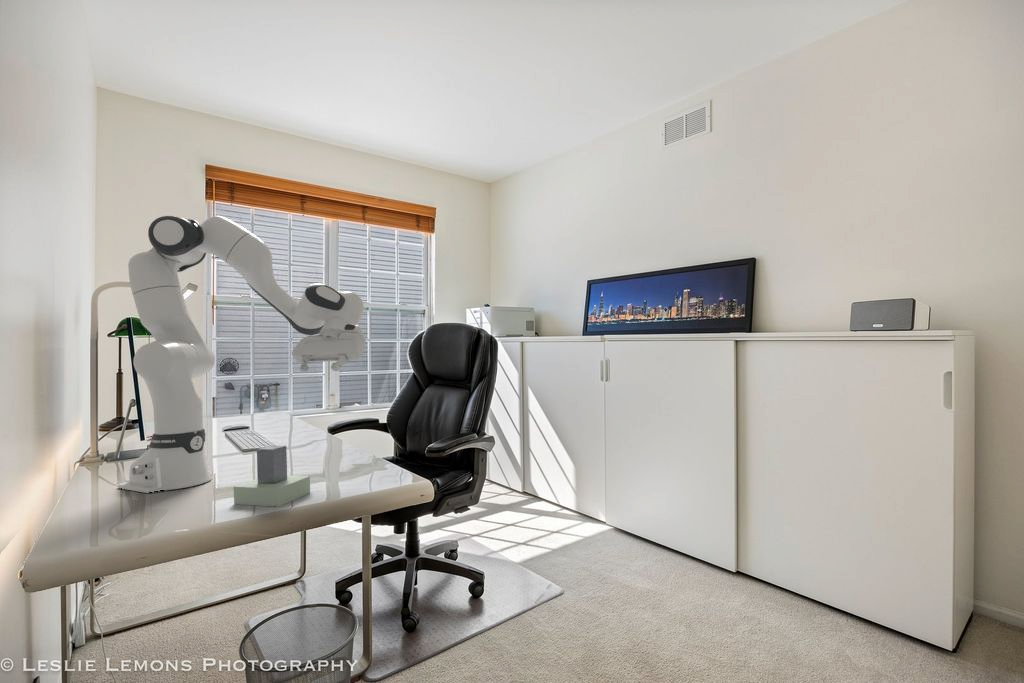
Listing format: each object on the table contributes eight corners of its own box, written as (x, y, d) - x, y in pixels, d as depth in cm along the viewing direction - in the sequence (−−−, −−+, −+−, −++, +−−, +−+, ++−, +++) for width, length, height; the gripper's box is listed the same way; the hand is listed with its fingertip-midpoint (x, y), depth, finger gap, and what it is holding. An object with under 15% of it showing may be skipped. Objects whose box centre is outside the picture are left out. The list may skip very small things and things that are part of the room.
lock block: (257, 483, 117) (256, 449, 118) (271, 478, 122) (270, 445, 122) (274, 484, 116) (273, 449, 116) (287, 479, 121) (286, 445, 121)
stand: (234, 504, 115) (233, 486, 115) (269, 490, 126) (268, 474, 126) (278, 506, 112) (277, 488, 112) (310, 492, 123) (309, 476, 123)
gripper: (299, 328, 148) (279, 363, 138) (364, 325, 144) (347, 361, 134) (308, 343, 152) (289, 378, 142) (371, 341, 148) (356, 376, 139)
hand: (318, 370), depth 138 cm, fingers open, 8 cm apart
